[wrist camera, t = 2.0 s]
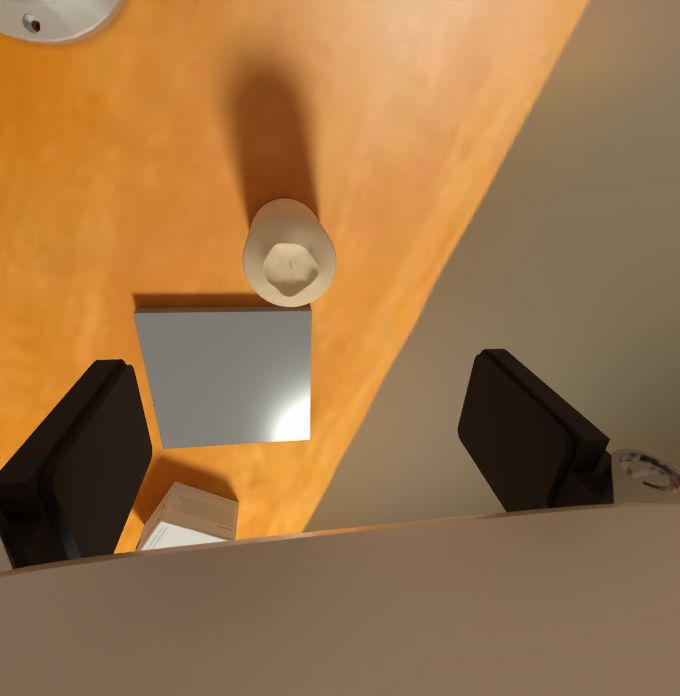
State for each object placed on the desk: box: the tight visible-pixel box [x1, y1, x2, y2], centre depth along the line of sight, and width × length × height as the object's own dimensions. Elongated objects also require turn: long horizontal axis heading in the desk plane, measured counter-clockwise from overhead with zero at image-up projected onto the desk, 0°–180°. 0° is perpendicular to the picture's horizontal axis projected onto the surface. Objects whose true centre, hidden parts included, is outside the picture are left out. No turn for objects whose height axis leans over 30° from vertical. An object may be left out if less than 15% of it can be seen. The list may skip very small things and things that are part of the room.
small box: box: [135, 481, 239, 551], centre depth 40 cm, size 8×8×5 cm
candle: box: [243, 198, 336, 307], centre depth 25 cm, size 6×6×10 cm
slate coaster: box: [133, 306, 312, 449], centre depth 34 cm, size 14×14×1 cm
